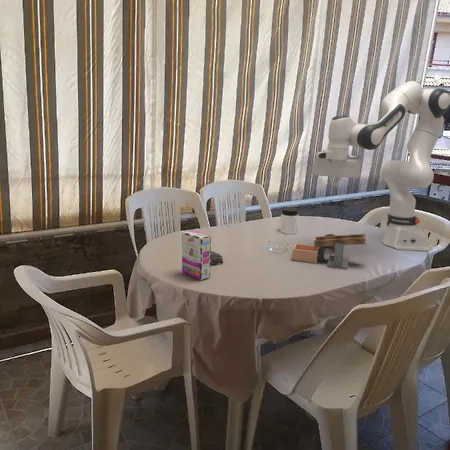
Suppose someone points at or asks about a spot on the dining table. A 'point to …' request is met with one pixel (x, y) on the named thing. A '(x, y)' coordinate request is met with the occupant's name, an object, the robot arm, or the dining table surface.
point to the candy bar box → (196, 254)
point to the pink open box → (305, 253)
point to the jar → (289, 220)
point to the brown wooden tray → (340, 240)
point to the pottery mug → (329, 246)
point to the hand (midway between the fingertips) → (334, 187)
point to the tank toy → (215, 258)
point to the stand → (334, 257)
